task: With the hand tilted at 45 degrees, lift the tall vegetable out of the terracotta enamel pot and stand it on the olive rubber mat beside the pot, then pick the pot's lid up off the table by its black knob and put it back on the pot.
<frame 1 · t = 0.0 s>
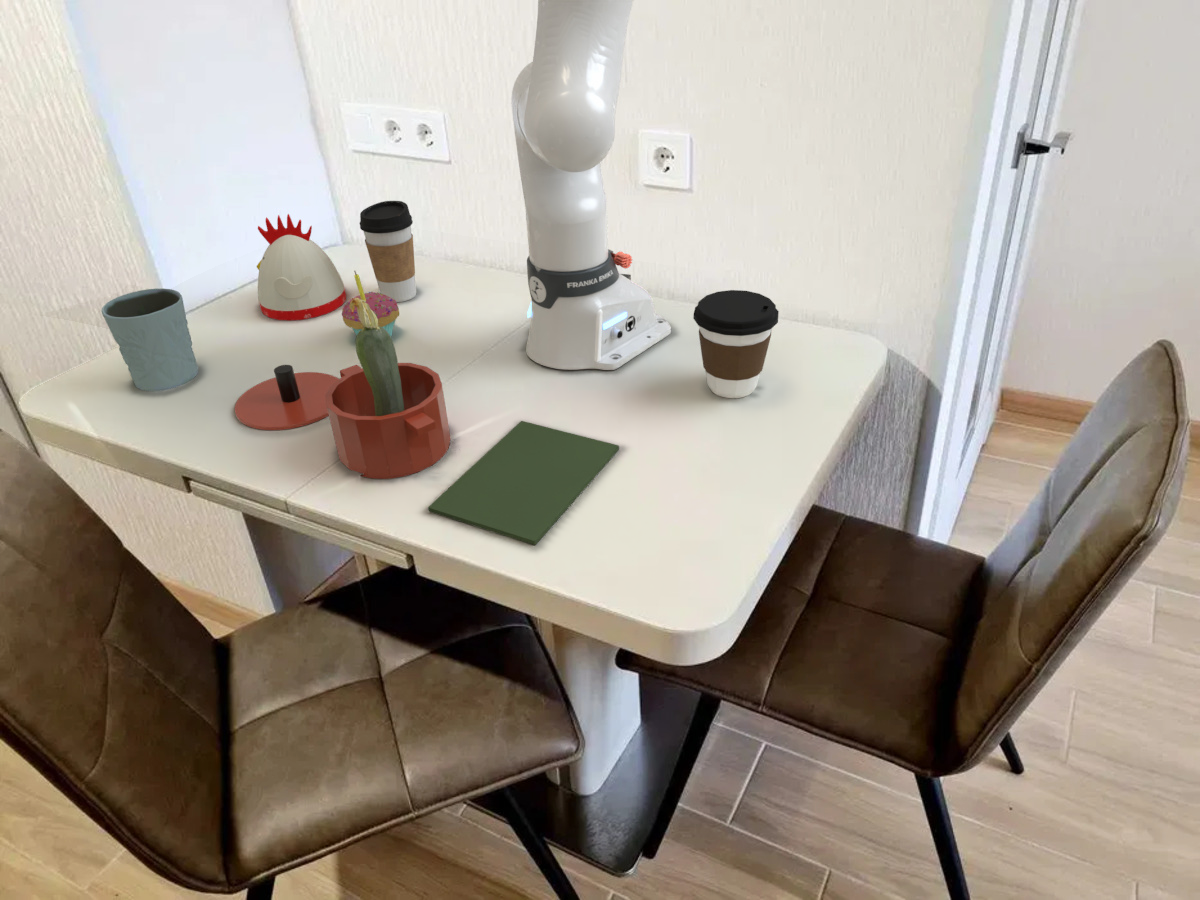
vegetable: (395, 446, 109), resting on pot
blue-grey cup: (169, 379, 127), on the table
coffee cup 2: (731, 388, 119), on the table
kitchen timer: (304, 303, 148), on the table
coffee cup: (399, 296, 149), on the table
pot: (395, 447, 110), on the table
mat: (527, 479, 103), on the table
cupcake: (375, 340, 135), on the table
pot lid: (291, 401, 119), point 1 cm above the table
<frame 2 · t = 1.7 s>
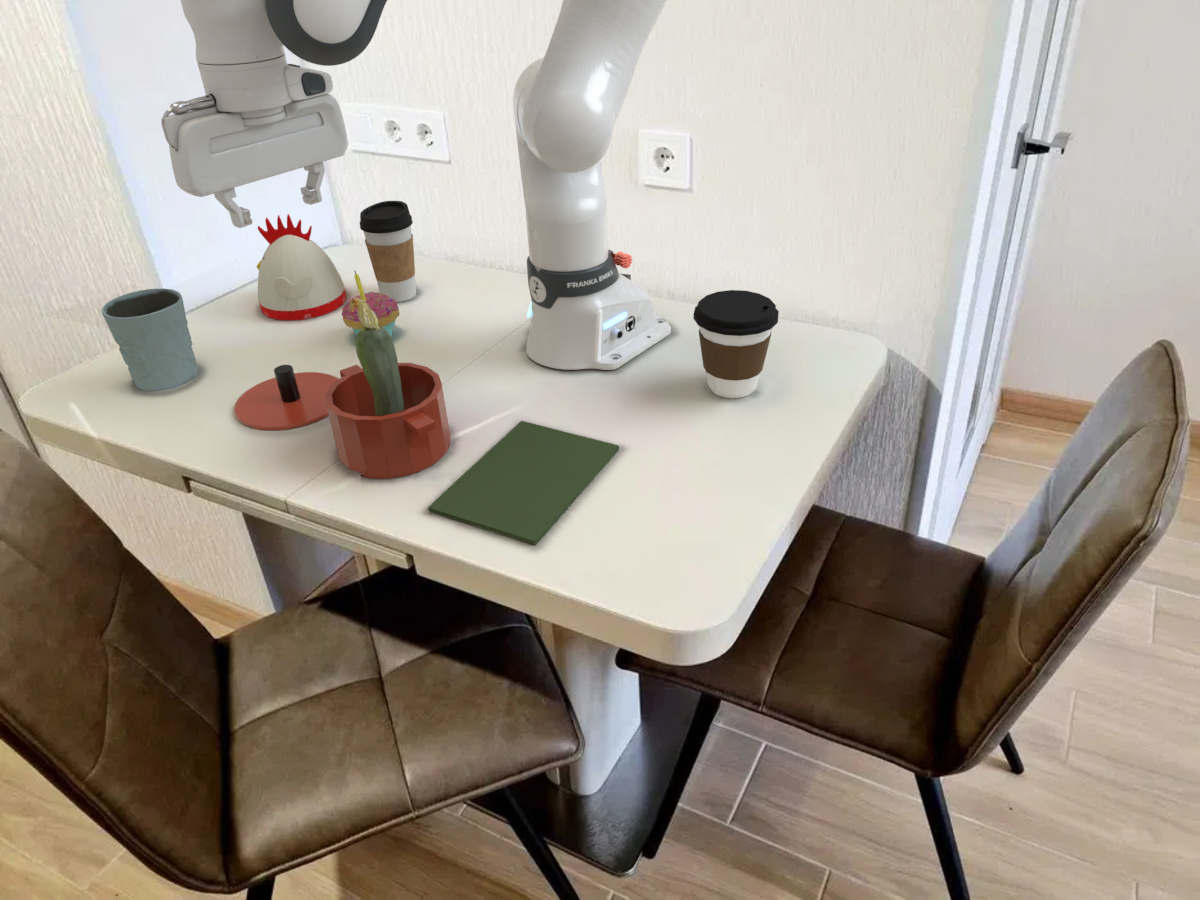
hand: (279, 213, 101), 27 cm above the table, tool pointing down, fingers open, 8 cm apart
nothing on the table moved.
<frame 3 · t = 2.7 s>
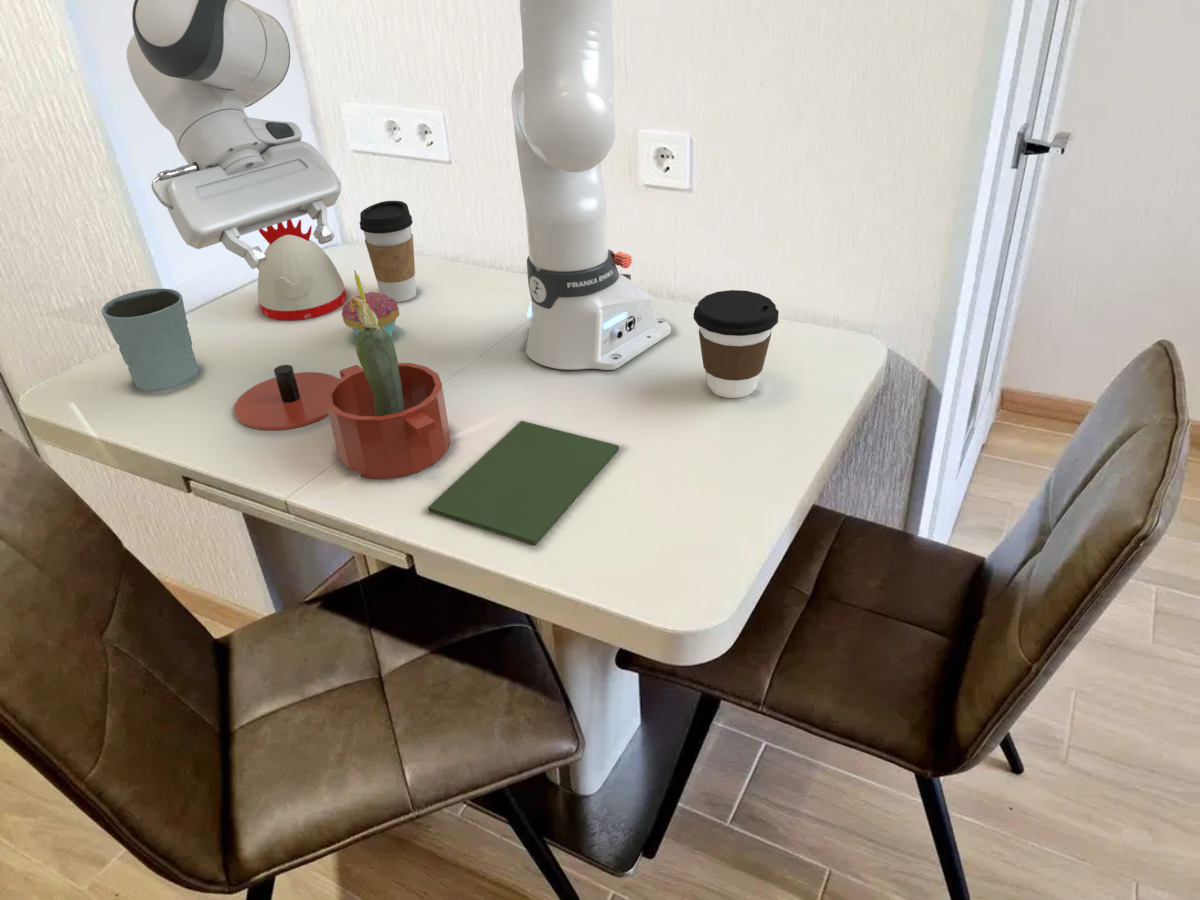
hand: (295, 252, 104), 23 cm above the table, tool tilted 45°, fingers open, 8 cm apart
nothing on the table moved.
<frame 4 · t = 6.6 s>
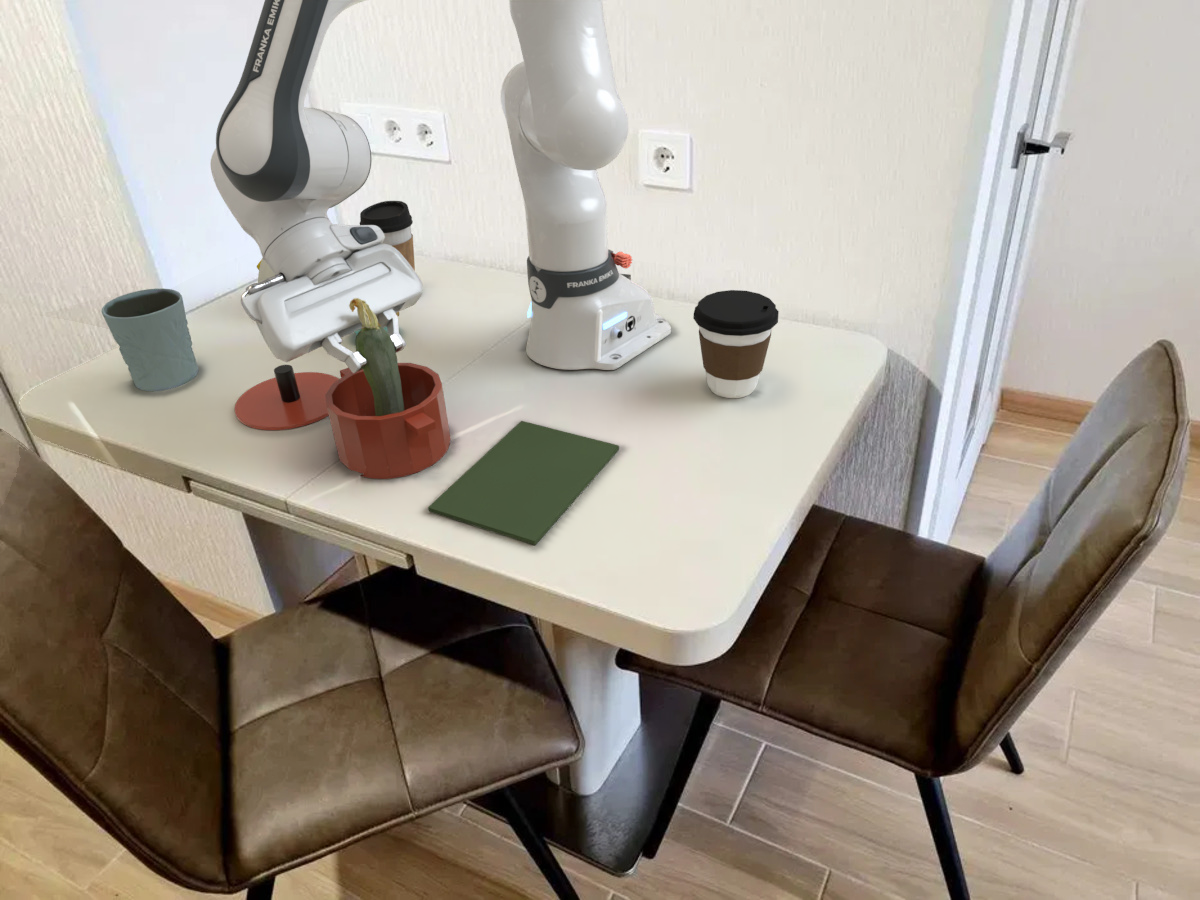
hand: (381, 359, 102), 13 cm above the table, tool tilted 45°, fingers closed on vegetable, 4 cm apart
vegetable: (395, 446, 109), resting on pot, touching gripper
everything else where it was.
when the fingers open (13 cm above the table, at t = 16.7 s): vegetable stays where it is, resting on mat.
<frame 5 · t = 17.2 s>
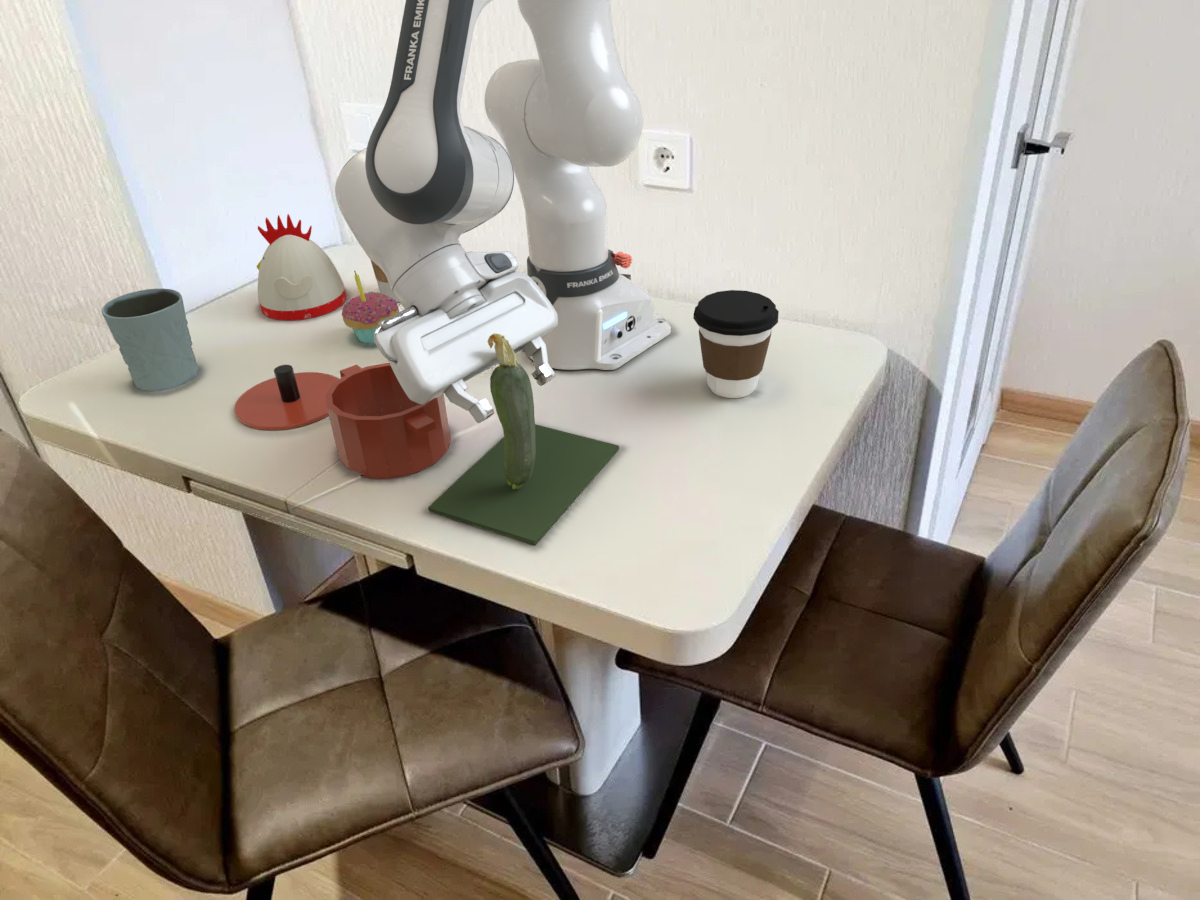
hand: (518, 399, 93), 13 cm above the table, tool tilted 45°, fingers open, 8 cm apart
vegetable: (522, 491, 100), resting on mat
everything else where it was.
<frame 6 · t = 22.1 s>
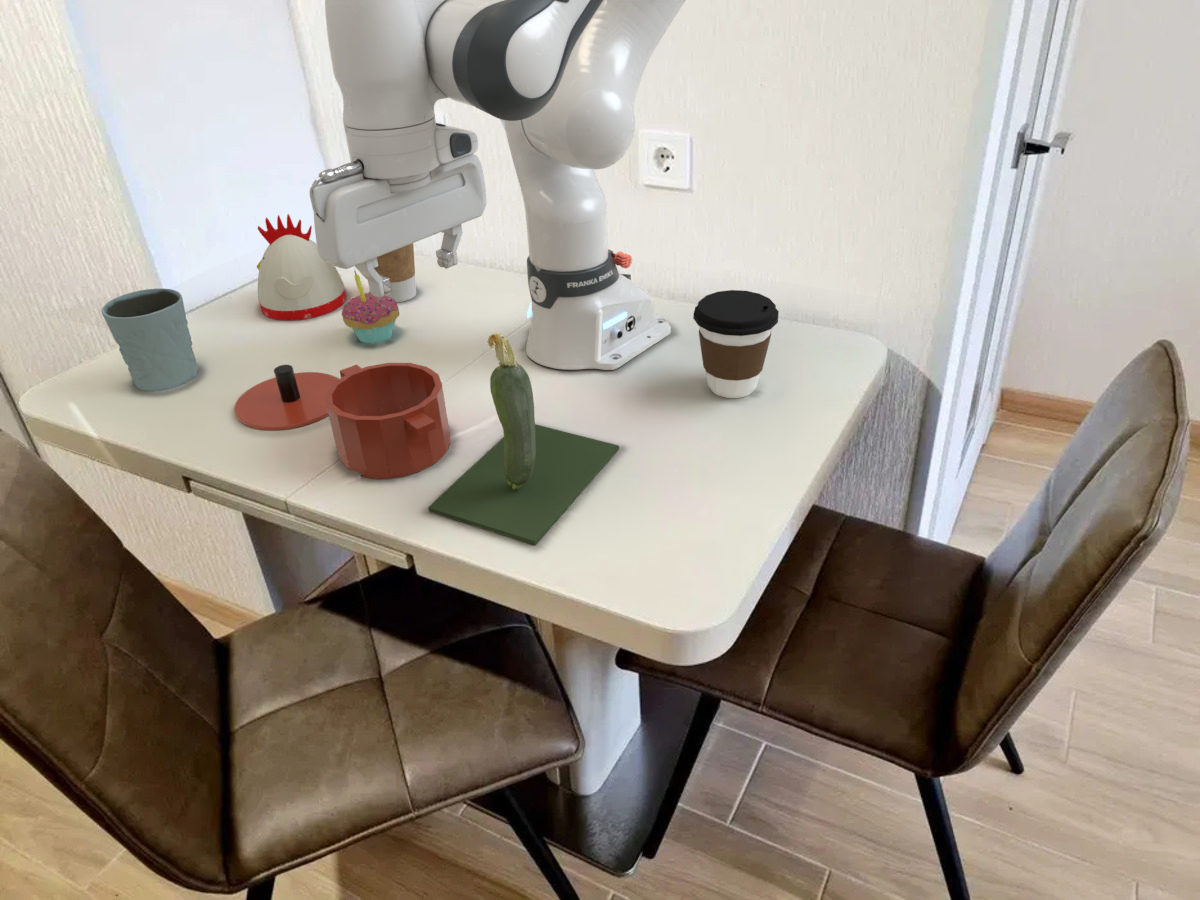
hand: (415, 279, 95), 23 cm above the table, tool pointing down, fingers open, 8 cm apart
nothing on the table moved.
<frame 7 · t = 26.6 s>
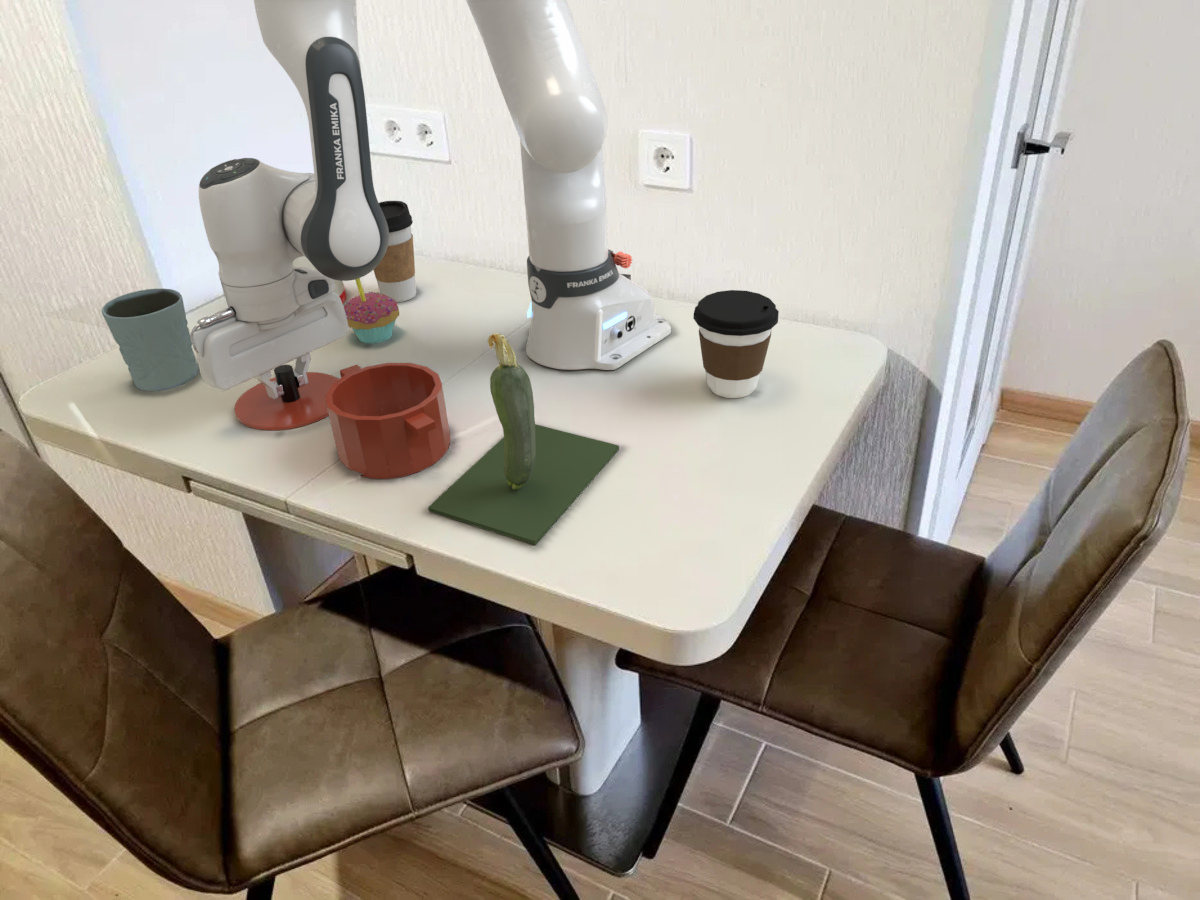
hand: (289, 390, 118), 2 cm above the table, tool pointing down, fingers closed on pot lid, 2 cm apart
pot lid: (291, 401, 119), point 1 cm above the table, touching gripper
everything else where it was.
when the fingers open (10 cm above the table, at t = 33.8 s): pot lid stays where it is, resting on pot.
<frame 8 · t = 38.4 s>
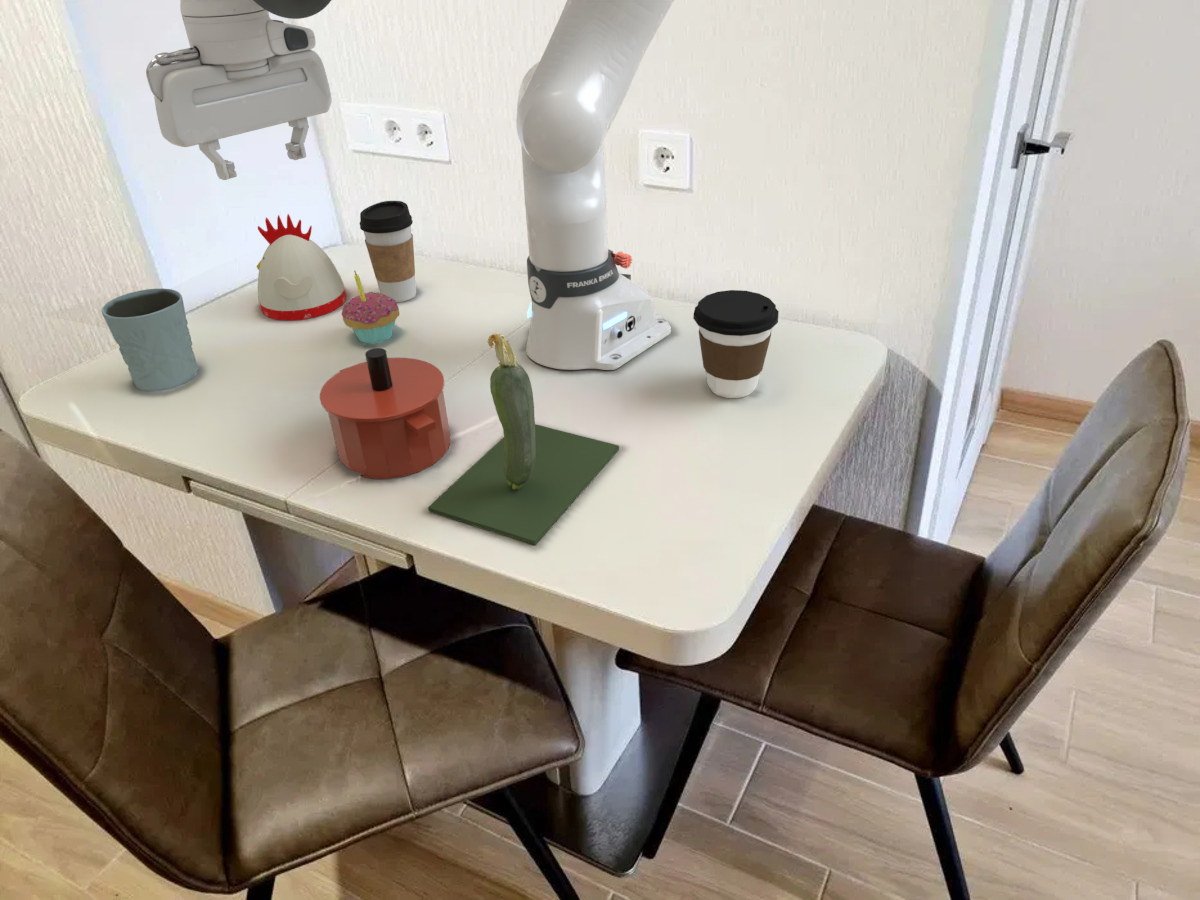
hand: (263, 167, 104), 31 cm above the table, tool pointing down, fingers open, 8 cm apart
pot lid: (383, 389, 105), point 8 cm above the table, touching pot
everything else where it was.
at the end: vegetable inside the target area on the mat (2.0 cm from its centre), point 0.4 cm above the mat's base; pot lid 0.1 cm off-centre on the pot, point 8.3 cm above the pot's base; pot lid tilted 0° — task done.
